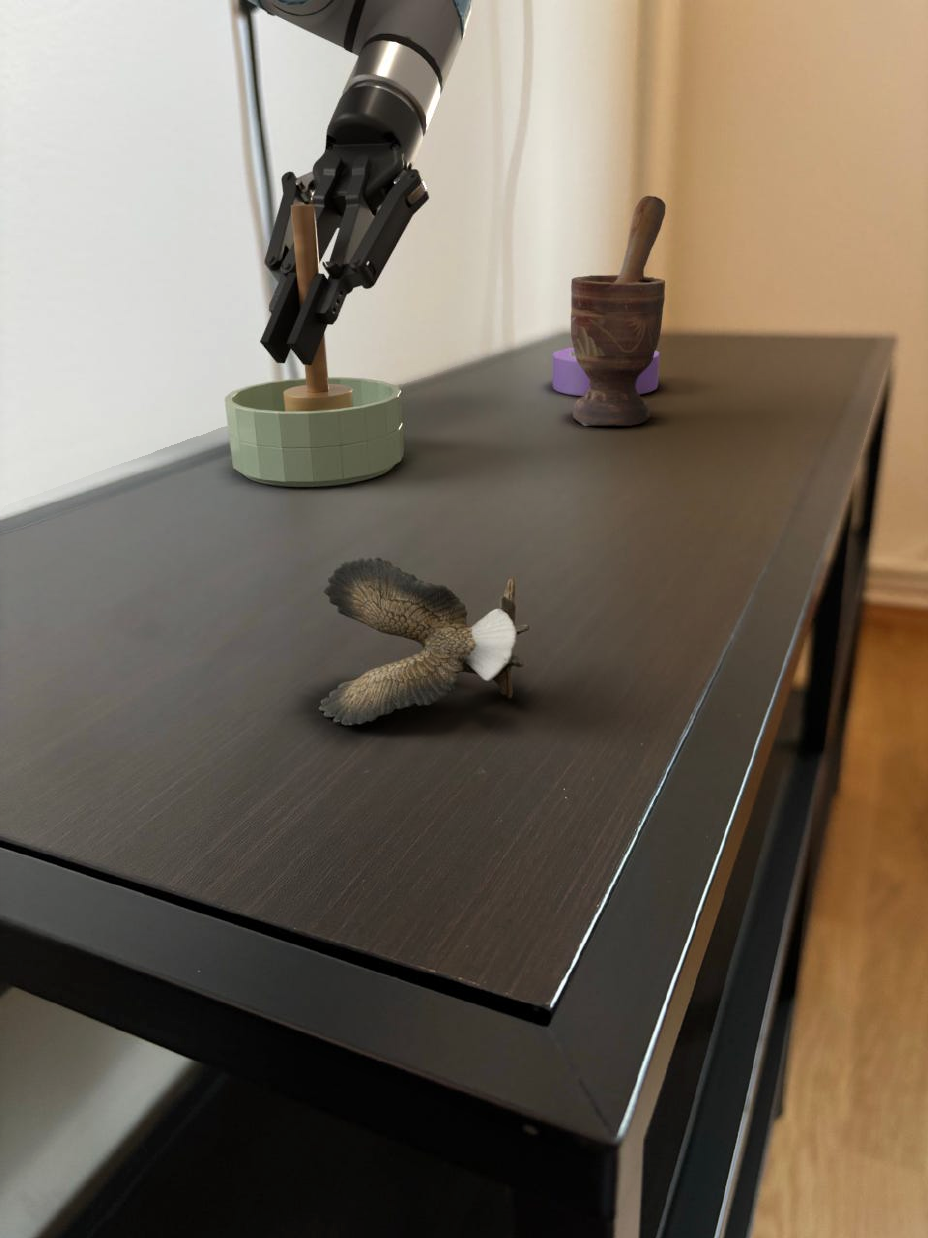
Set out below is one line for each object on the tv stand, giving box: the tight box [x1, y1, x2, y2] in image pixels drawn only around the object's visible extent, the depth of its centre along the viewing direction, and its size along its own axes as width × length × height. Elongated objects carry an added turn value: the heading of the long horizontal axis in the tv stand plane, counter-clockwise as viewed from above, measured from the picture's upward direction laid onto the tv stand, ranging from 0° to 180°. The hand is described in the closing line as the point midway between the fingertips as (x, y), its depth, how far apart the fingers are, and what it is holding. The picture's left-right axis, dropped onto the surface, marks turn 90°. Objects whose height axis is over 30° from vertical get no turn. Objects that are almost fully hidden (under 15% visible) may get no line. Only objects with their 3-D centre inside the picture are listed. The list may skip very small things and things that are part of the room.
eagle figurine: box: [318, 556, 530, 726], centre depth 45 cm, size 8×7×9 cm
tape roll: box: [552, 347, 660, 397], centre depth 110 cm, size 12×12×4 cm
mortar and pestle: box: [570, 195, 667, 427], centre depth 94 cm, size 12×9×20 cm
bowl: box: [224, 376, 405, 488], centre depth 82 cm, size 14×14×6 cm
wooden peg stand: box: [283, 204, 353, 412], centre depth 78 cm, size 6×6×17 cm
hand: (285, 353), depth 76 cm, fingers closed on wooden peg stand, 2 cm apart
